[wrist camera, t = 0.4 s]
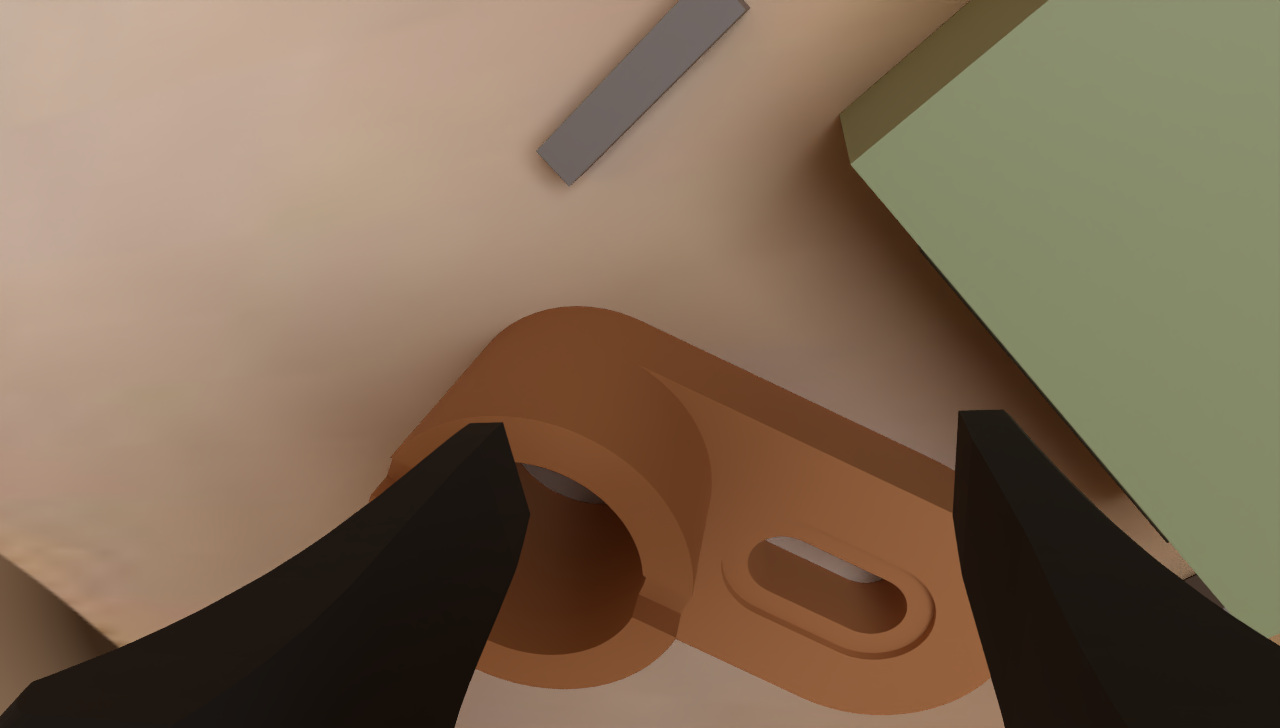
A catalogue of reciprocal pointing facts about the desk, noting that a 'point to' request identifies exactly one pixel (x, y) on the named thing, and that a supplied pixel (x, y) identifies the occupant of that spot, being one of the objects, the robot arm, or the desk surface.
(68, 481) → the desk surface
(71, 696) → the robot arm
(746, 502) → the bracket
